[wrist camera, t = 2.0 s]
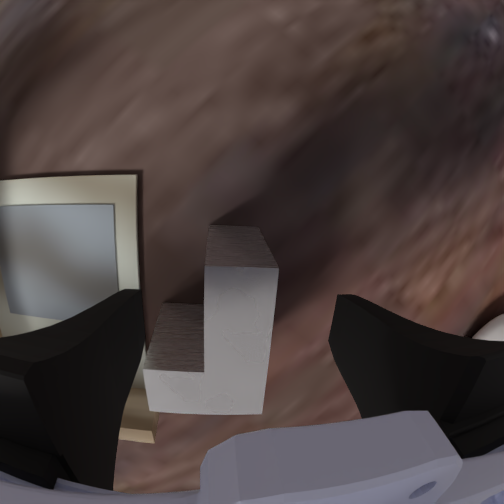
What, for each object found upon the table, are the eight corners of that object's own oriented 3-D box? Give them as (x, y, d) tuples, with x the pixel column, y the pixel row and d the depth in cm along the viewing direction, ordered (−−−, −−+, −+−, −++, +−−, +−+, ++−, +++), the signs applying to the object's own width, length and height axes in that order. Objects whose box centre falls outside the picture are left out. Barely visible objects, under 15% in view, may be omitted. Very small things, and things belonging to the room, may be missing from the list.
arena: (161, 399, 20) (154, 443, 16) (8, 374, 18) (-14, 405, 14) (149, 174, 15) (127, 182, 11) (-33, 183, 14) (-73, 195, 10)
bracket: (248, 342, 19) (261, 414, 13) (165, 339, 18) (149, 411, 12) (258, 226, 17) (279, 268, 11) (160, 223, 16) (131, 262, 10)
